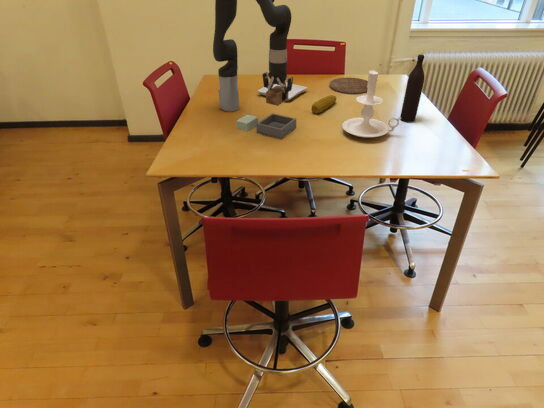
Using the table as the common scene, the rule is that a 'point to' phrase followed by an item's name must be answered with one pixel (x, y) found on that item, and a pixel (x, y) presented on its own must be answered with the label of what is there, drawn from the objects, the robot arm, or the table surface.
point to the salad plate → (294, 92)
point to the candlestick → (368, 114)
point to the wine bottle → (413, 92)
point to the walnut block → (275, 96)
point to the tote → (276, 126)
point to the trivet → (349, 85)
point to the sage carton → (247, 122)
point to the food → (323, 104)
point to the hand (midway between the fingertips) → (277, 98)
